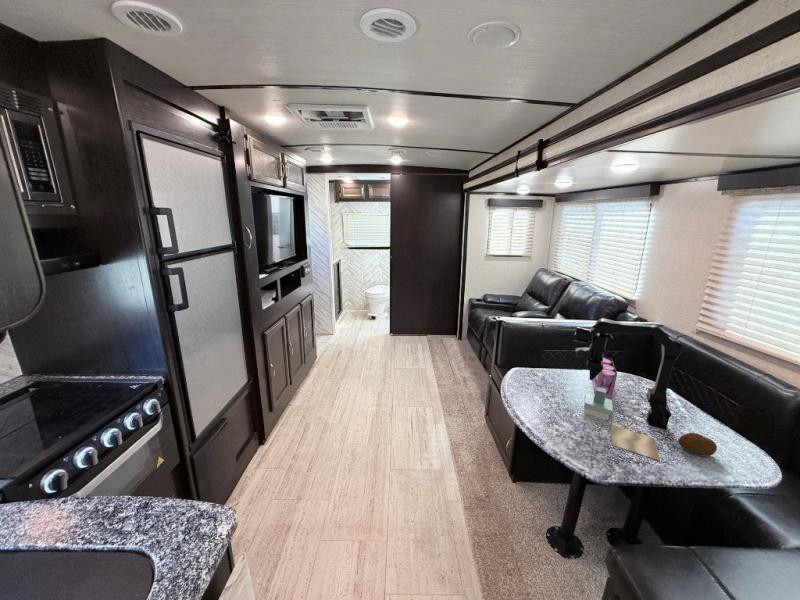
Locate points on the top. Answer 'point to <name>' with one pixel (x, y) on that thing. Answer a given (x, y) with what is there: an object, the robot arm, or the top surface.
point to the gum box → (606, 377)
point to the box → (596, 414)
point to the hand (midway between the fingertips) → (591, 375)
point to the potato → (697, 444)
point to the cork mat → (634, 442)
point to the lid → (598, 401)
